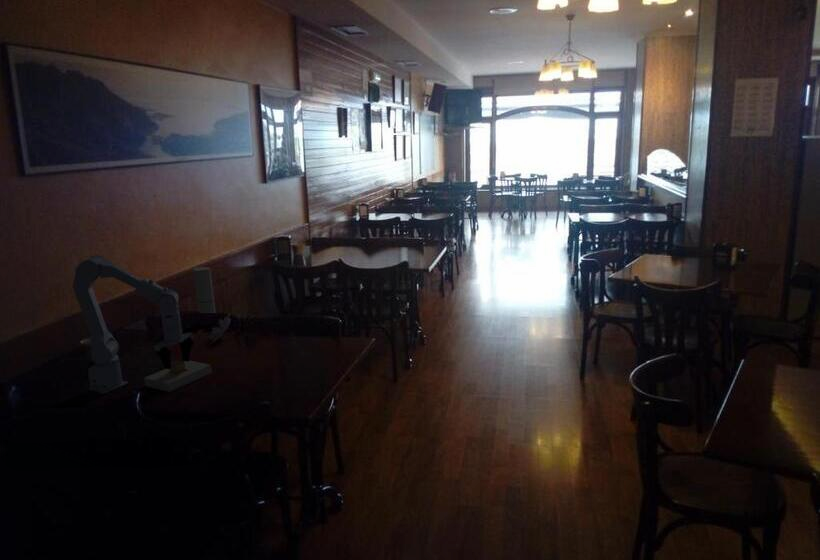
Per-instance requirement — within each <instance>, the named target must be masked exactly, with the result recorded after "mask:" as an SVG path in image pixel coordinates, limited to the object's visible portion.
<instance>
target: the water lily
mask: <svg viewBox="0 0 820 560" xmlns="http://www.w3.org/2000/svg"><path fill="white" fill-rule="evenodd" d="M230 314H231V313H230V312H229V313H228V315H227V316H226V317H223V319H221V318H219V319H218V325H219V326H218V327H217V326H216V327H215V326H214V327H212V328H211V330H212V331H210V332H209V334H211V335H209V338H210V339H209V340H212V341H211V342H210V345H212V344H213V343H215V342H216V341H217V340H218V339H220V337H221V336H223V334H226V335H227V336H228V337H229V338H230V339H231V340H233V339H234V338H233V336H232V335H231V334H230V333H228V332H227V331H226V330H227V329H228V328H229V326H230V323H231V318H230Z"/></svg>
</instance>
